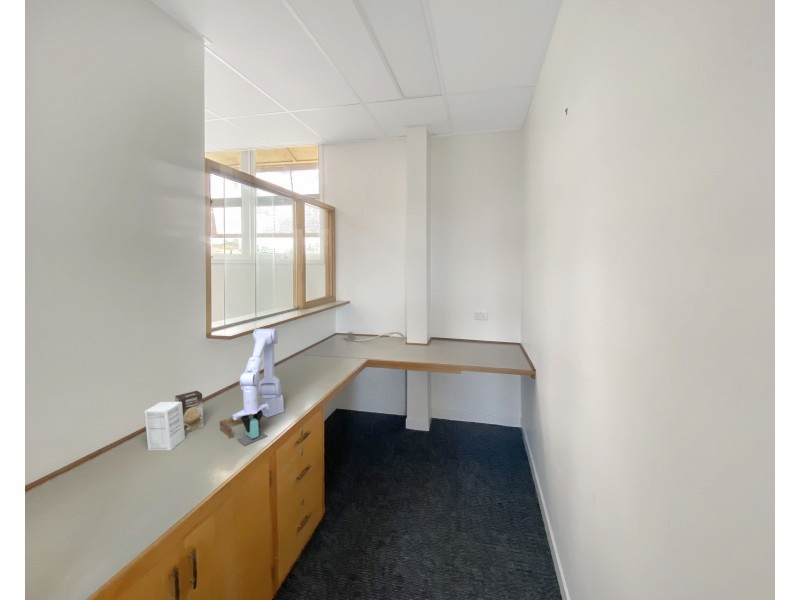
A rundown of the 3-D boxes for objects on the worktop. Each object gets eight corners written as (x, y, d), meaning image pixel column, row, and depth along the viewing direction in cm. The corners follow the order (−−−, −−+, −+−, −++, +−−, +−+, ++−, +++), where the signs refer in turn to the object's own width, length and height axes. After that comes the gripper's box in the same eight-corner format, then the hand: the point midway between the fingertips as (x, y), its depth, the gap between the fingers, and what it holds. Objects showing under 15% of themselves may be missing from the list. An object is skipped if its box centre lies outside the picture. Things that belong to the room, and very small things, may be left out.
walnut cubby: (248, 419, 158) (248, 411, 157) (259, 427, 150) (259, 419, 150) (220, 429, 148) (219, 421, 147) (229, 438, 141) (229, 429, 140)
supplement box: (185, 438, 140) (183, 401, 138) (170, 451, 131) (167, 411, 129) (163, 438, 140) (160, 400, 138) (147, 450, 131) (143, 410, 129)
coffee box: (181, 435, 143) (179, 399, 141) (176, 430, 147) (174, 396, 145) (204, 427, 150) (202, 393, 149) (199, 422, 154) (196, 389, 153)
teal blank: (252, 431, 144) (251, 416, 143) (258, 436, 140) (258, 420, 139) (245, 433, 142) (244, 418, 141) (251, 438, 138) (251, 423, 137)
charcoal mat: (259, 431, 147) (259, 430, 147) (267, 436, 142) (267, 435, 142) (237, 440, 140) (236, 439, 139) (244, 446, 135) (244, 445, 135)
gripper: (237, 407, 131) (238, 439, 133) (271, 396, 142) (272, 426, 143) (229, 402, 136) (231, 433, 137) (263, 392, 146) (264, 421, 148)
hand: (252, 429), depth 141 cm, fingers closed on teal blank, 3 cm apart
